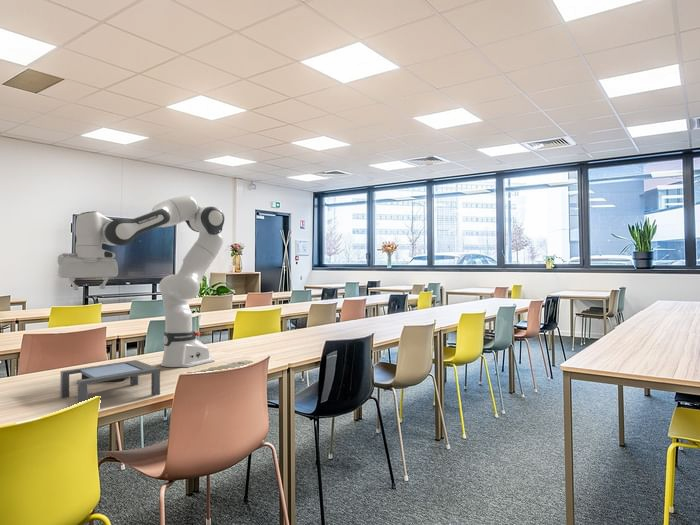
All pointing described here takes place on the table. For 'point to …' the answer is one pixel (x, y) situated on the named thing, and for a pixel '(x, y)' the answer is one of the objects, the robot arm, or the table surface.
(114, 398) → the table surface
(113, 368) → the trapdoor
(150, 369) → the stand
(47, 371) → the table surface
